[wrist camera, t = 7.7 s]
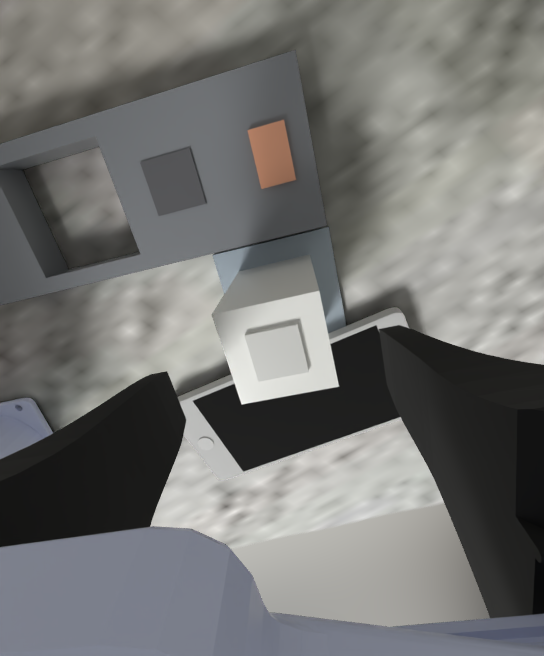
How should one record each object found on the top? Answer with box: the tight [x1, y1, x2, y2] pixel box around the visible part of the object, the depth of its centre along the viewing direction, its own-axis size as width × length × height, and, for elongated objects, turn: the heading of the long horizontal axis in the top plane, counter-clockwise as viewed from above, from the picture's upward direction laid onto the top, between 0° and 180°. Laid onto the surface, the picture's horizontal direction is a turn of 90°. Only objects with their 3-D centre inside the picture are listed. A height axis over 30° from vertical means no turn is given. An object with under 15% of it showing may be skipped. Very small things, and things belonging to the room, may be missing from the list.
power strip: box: [0, 50, 327, 305], centre depth 17 cm, size 18×7×2 cm, turn 104°
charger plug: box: [212, 254, 339, 404], centre depth 16 cm, size 4×4×7 cm
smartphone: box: [177, 307, 409, 481], centre depth 22 cm, size 7×15×1 cm, turn 116°
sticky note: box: [213, 227, 346, 333], centre depth 20 cm, size 6×6×1 cm
